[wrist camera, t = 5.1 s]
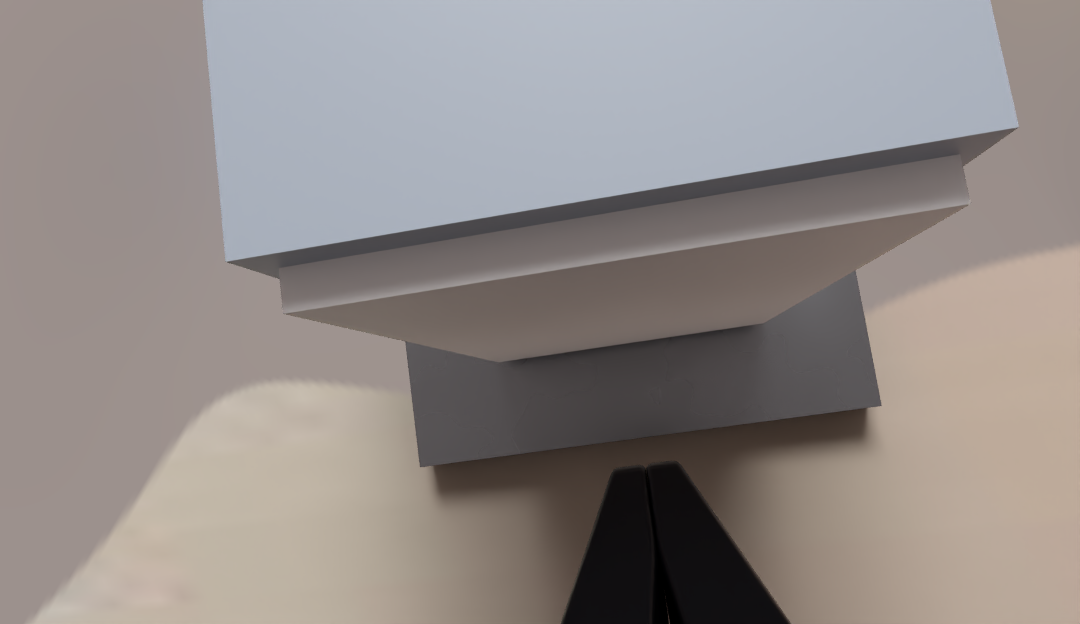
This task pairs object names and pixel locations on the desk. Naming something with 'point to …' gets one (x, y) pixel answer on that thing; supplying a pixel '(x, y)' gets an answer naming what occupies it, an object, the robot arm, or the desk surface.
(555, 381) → the rack deck
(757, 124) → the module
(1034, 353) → the desk surface
